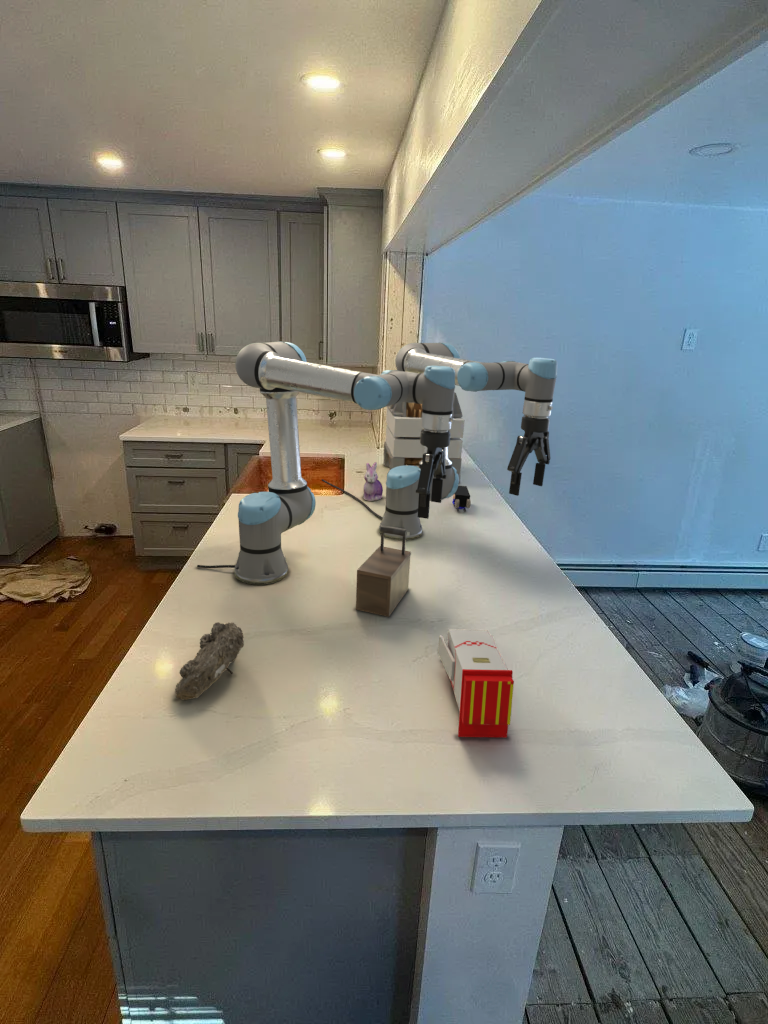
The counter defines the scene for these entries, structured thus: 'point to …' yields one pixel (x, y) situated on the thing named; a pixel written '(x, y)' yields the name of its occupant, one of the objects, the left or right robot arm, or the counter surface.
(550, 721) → the counter surface
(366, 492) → the figurine
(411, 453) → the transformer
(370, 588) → the chest
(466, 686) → the toy
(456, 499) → the figurine character
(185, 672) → the fossil
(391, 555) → the lid
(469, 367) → the right robot arm
